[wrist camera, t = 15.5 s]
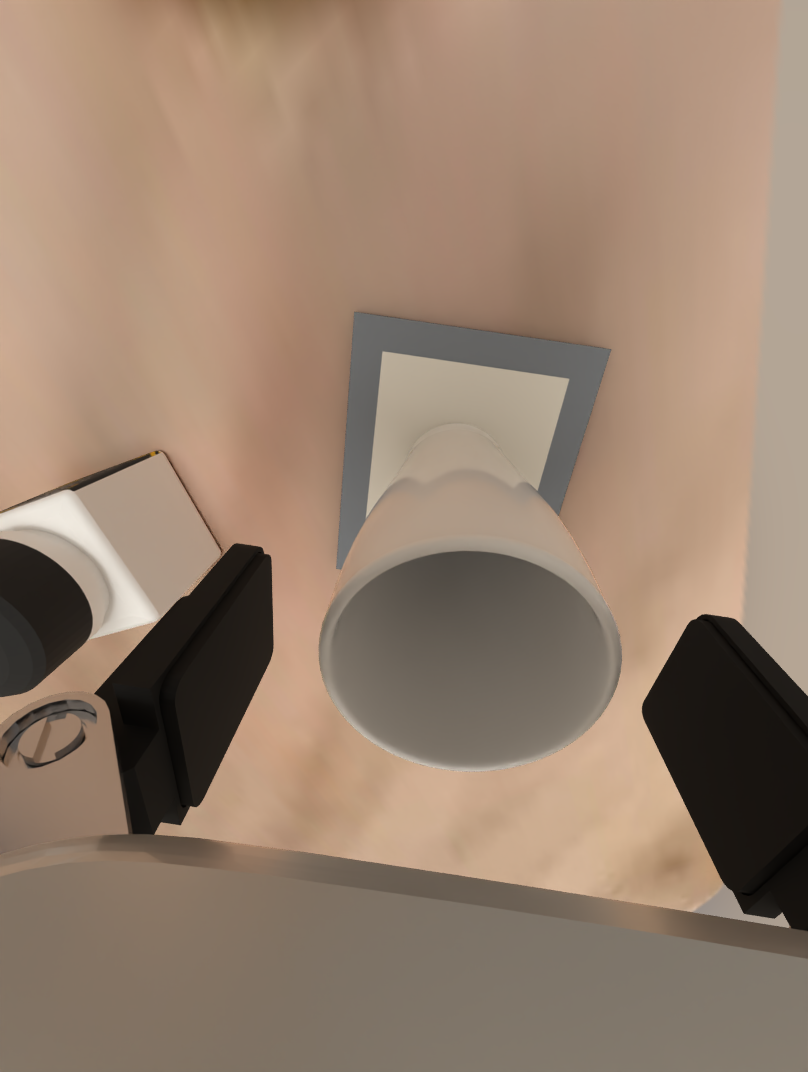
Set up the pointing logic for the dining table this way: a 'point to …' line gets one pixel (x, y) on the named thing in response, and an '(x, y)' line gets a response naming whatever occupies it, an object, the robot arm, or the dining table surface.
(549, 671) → the drinking glass
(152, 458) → the medicine bottle
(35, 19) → the dining table surface
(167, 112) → the dining table surface
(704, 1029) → the robot arm
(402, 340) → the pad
